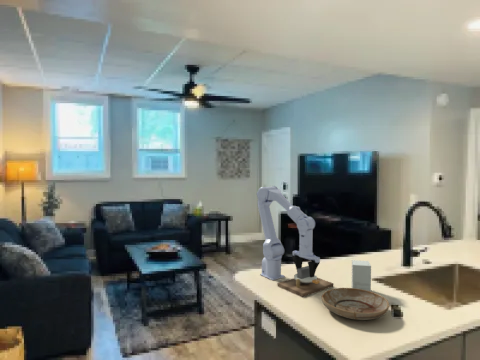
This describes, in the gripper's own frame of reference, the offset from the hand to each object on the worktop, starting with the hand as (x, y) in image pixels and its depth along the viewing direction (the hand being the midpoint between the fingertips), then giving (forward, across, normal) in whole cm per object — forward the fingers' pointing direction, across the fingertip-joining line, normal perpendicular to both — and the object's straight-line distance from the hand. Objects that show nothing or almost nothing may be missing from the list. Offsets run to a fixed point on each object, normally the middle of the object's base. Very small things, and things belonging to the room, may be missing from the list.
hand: (305, 274), depth 147 cm
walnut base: (+5, 0, 0) cm, 5 cm away
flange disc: (+2, -1, 0) cm, 2 cm away
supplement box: (+6, -18, -15) cm, 24 cm away
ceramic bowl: (+6, -28, +4) cm, 29 cm away
